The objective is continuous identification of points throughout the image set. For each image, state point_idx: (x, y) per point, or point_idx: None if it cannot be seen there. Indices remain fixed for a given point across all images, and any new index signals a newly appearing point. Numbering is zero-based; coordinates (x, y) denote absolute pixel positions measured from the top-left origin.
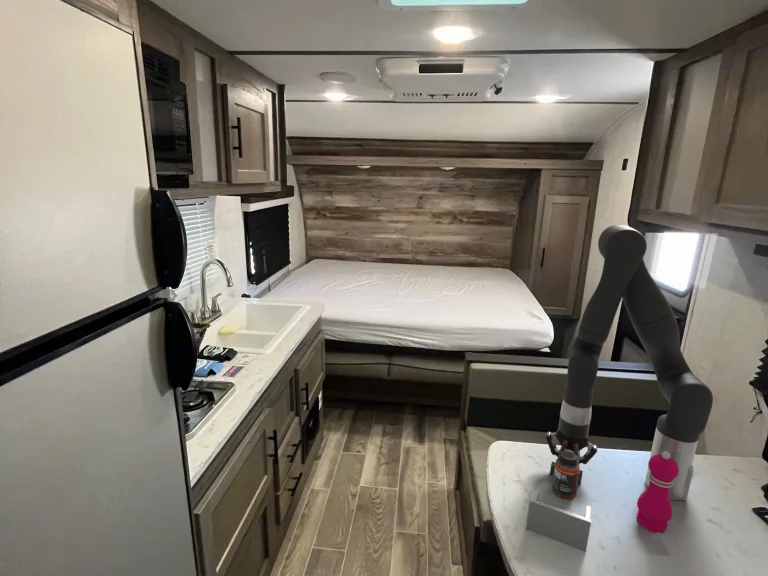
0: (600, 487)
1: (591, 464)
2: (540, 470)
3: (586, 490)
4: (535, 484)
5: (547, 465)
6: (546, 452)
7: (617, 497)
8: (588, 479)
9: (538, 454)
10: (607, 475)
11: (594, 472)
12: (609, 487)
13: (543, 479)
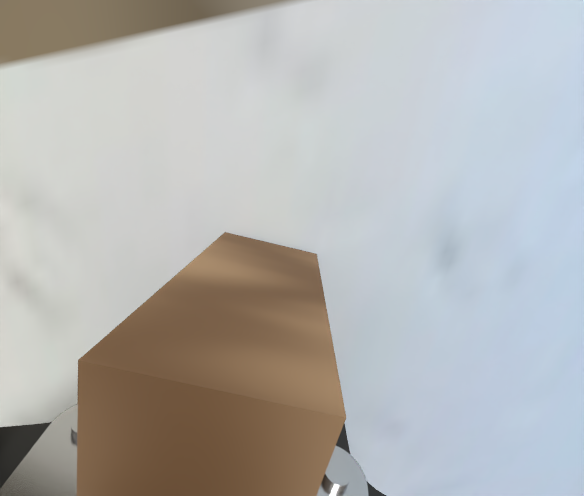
0: (459, 430)
1: (492, 172)
2: (65, 368)
3: None
4: None
5: (106, 298)
6: (76, 98)
7: (535, 485)
8: (399, 375)
9: (11, 161)
10: (576, 293)
11: (476, 283)
12: (524, 417)
13: None
